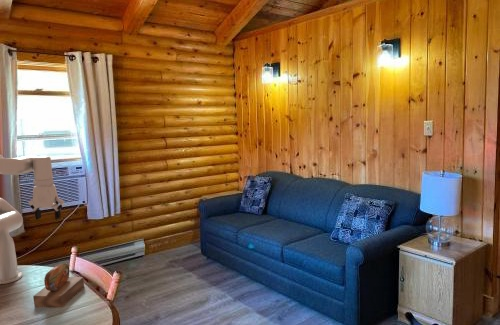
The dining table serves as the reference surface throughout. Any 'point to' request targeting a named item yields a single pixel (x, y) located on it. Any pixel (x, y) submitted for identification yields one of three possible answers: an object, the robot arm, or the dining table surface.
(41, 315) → the dining table surface
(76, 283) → the walnut block
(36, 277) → the dining table surface
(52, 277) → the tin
